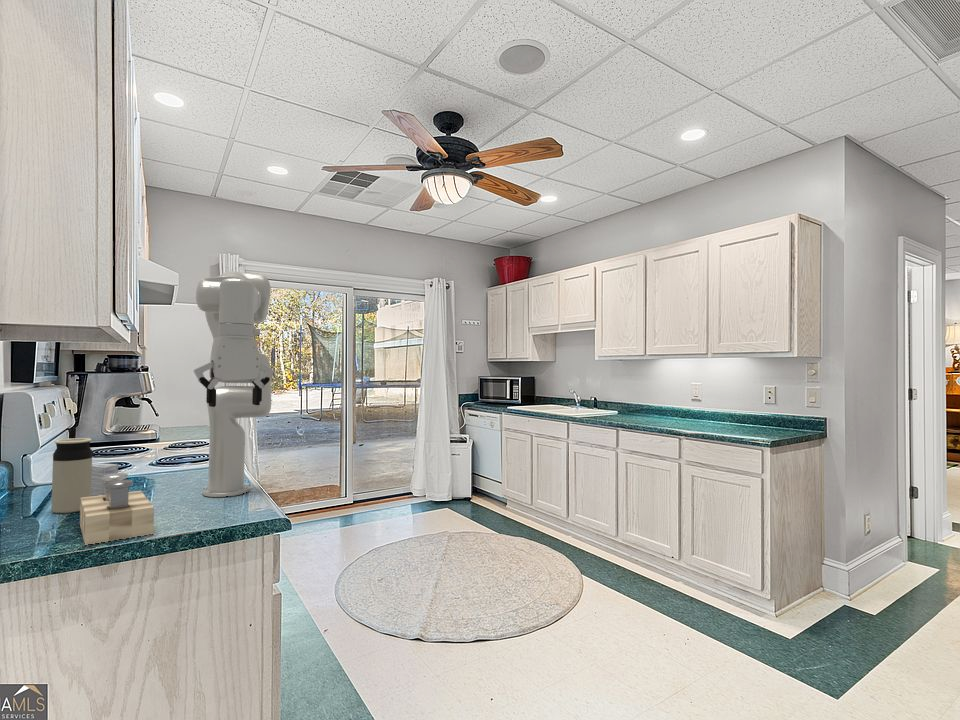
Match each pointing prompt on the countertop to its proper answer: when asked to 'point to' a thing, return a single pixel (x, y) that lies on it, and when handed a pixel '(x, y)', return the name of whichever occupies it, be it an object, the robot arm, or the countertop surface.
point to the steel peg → (112, 478)
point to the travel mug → (71, 474)
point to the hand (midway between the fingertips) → (234, 405)
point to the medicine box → (97, 472)
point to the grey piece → (118, 493)
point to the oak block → (115, 518)
